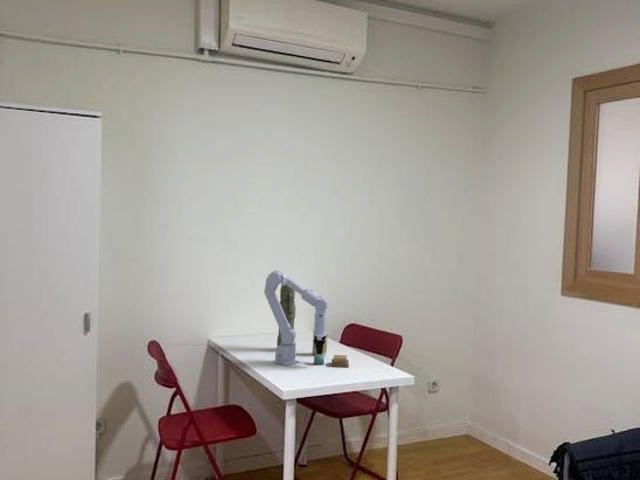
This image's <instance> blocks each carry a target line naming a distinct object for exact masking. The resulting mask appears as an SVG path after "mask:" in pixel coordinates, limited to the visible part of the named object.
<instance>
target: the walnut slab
mask: <svg viewBox="0 0 640 480" xmlns="http://www.w3.org/2000/svg"><path fill="white" fill-rule="evenodd" d="M349 363H350V362H349V359H347V361H346V363H337V362H334V358H331V365H330V367H331V368H344V369H345V368H347V369H348V368H349Z"/></svg>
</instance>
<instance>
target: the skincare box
mask: <svg viewBox="0 0 640 480" xmlns="http://www.w3.org/2000/svg"><path fill="white" fill-rule="evenodd" d="M326 333H329V332H328V331H327V330H326ZM314 339H315V335H314V334H313V337H312V351H311V353H312V355H313V356H314V355H324V356H326V355H327V347H328V335H326V338H325V340H326V341H325V343H324V345H323V349H322V354H317V352H316V346H315V343H314Z"/></svg>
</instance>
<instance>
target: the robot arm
mask: <svg viewBox="0 0 640 480" xmlns="http://www.w3.org/2000/svg"><path fill="white" fill-rule="evenodd" d="M279 285H280V286H282V285H287V286H289V287H290V288H292V289H293V290H295V293H298V294H299V295H301V299H302V300H303V301H304V302H306V303H307V304H309V305H310V306H311V307H314V311H315V313H314V330H313V335H315V339H314V343H315V346H316V352H317V354H322V349H323V345H324V343H325V341H326V340H325V338H326V335H327V336H329V332H328V333H326V331H327V319H328V317H327V316H328V315H327V309H328V302H327V300H326V299H325V298H324V297H322V295H318V293H315V291H314V289H312V288H311V289H310V288H304V287H303V286H302V285H300V284H299V283H297V281H295V280H293V279H292V278H291V277H289V276H288V275H286V273H282V272H281V271H279V270H273V271H271V272H270V273H269V274H268V276H267V277H266V279H265V285H264V291H263V292H264V296H265V298H266V300H267V303H268V305H269V308H270V310H271V312H272V313H273V316H274V319H275V321H276V324H277V325H278V331H279V330H280V333H281V341H282V342H281V344H280V345H279V346H277V345H276V348H275V353H274V354H275V356H274V361H273V362H274V363H275V364H279V365H283V366H288V365H292V364H293V365H294V364H297V363H300V361H299V360H296V351H297V350H296V349H297V348H296V347H297V345H296V344H297V343H296V341H295V340H294V339H296V336H297V333H296V331H295V329H294V330H293V329H292V328H291V326H290V324H289V323H288V321H287V319H286V316H285V314H284V312H283V309H282V307H281V305H280V300H279V298H278V296H277V293H276V291H277V289H278V286H279Z"/></svg>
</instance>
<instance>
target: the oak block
mask: <svg viewBox="0 0 640 480" xmlns="http://www.w3.org/2000/svg"><path fill="white" fill-rule="evenodd" d="M347 356H348V355H345V354H343V355H342V354H333V359H334V362H337V363H346V361H347V360H348V359H347V358H348V357H347Z"/></svg>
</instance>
